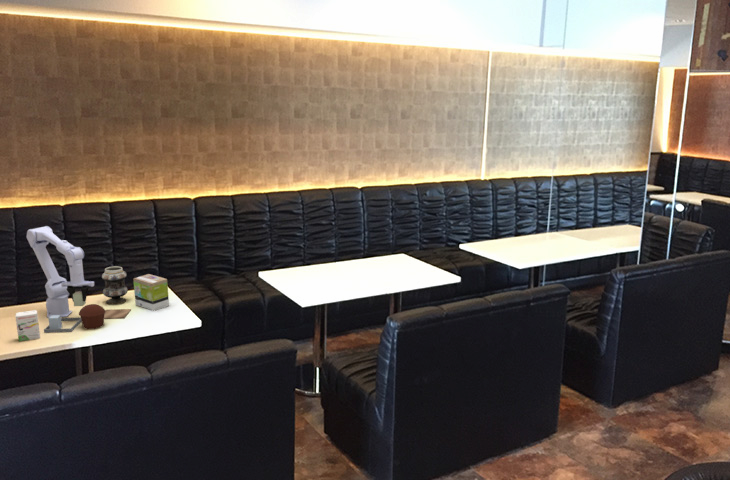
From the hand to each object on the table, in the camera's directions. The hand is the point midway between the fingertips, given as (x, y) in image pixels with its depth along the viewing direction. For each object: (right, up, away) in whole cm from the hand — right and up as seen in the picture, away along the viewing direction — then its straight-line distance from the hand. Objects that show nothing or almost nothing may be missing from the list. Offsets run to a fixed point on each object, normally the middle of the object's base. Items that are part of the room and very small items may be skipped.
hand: (79, 300), depth 303 cm
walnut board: (+13, -8, +9) cm, 18 cm away
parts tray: (-4, -11, -7) cm, 14 cm away
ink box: (-13, -15, -20) cm, 28 cm away
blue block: (-6, -12, -10) cm, 17 cm away
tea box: (+27, -5, +22) cm, 35 cm away
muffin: (+9, -11, -5) cm, 15 cm away
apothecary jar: (+7, -3, +28) cm, 29 cm away
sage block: (0, -2, 0) cm, 2 cm away
